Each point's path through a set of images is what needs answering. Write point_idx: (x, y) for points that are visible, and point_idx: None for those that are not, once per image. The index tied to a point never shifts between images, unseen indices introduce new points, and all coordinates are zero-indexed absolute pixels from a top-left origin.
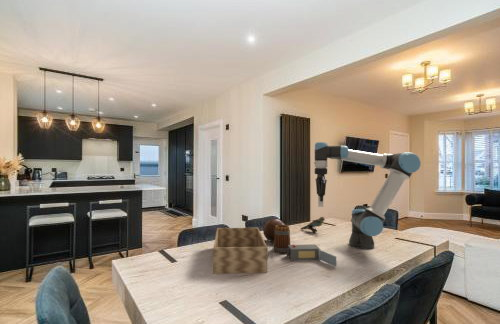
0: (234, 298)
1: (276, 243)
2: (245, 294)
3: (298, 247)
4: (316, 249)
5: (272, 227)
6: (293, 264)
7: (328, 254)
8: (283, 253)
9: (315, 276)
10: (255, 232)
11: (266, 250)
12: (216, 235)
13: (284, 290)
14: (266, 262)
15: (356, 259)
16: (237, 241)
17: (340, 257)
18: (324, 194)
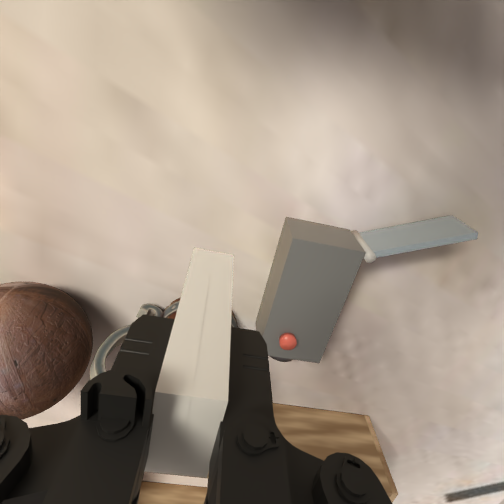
0: (450, 484)
1: None
2: (447, 469)
3: (308, 330)
4: (358, 267)
5: (62, 395)
6: (347, 337)
7: (431, 245)
8: None
9: (464, 318)
10: None
11: (392, 483)
12: None
13: (480, 411)
14: (377, 444)
15: (427, 38)
16: None
17: (364, 112)
18: (376, 492)
